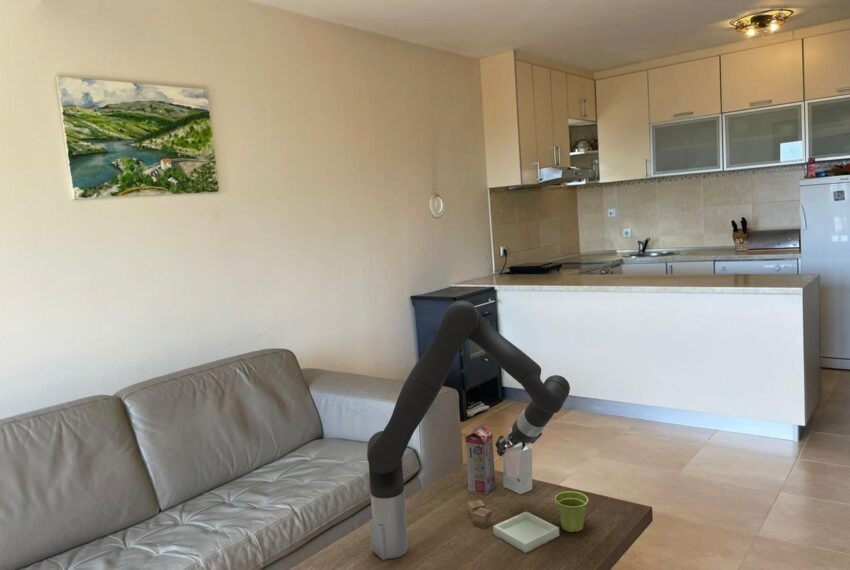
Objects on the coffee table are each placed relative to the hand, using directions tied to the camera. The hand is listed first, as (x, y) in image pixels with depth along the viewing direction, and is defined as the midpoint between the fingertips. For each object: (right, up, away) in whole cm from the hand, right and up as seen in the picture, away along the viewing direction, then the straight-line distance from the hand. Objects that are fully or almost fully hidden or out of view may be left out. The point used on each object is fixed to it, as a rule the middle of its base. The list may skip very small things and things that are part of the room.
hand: (509, 450), depth 191 cm
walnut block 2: (-8, -20, -5) cm, 23 cm away
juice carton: (-7, -18, +19) cm, 26 cm away
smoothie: (+1, -7, -1) cm, 7 cm away
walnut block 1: (-10, -20, +1) cm, 22 cm away
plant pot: (+17, -20, -10) cm, 28 cm away
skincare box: (+5, -17, +17) cm, 25 cm away
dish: (+3, -21, -12) cm, 24 cm away
